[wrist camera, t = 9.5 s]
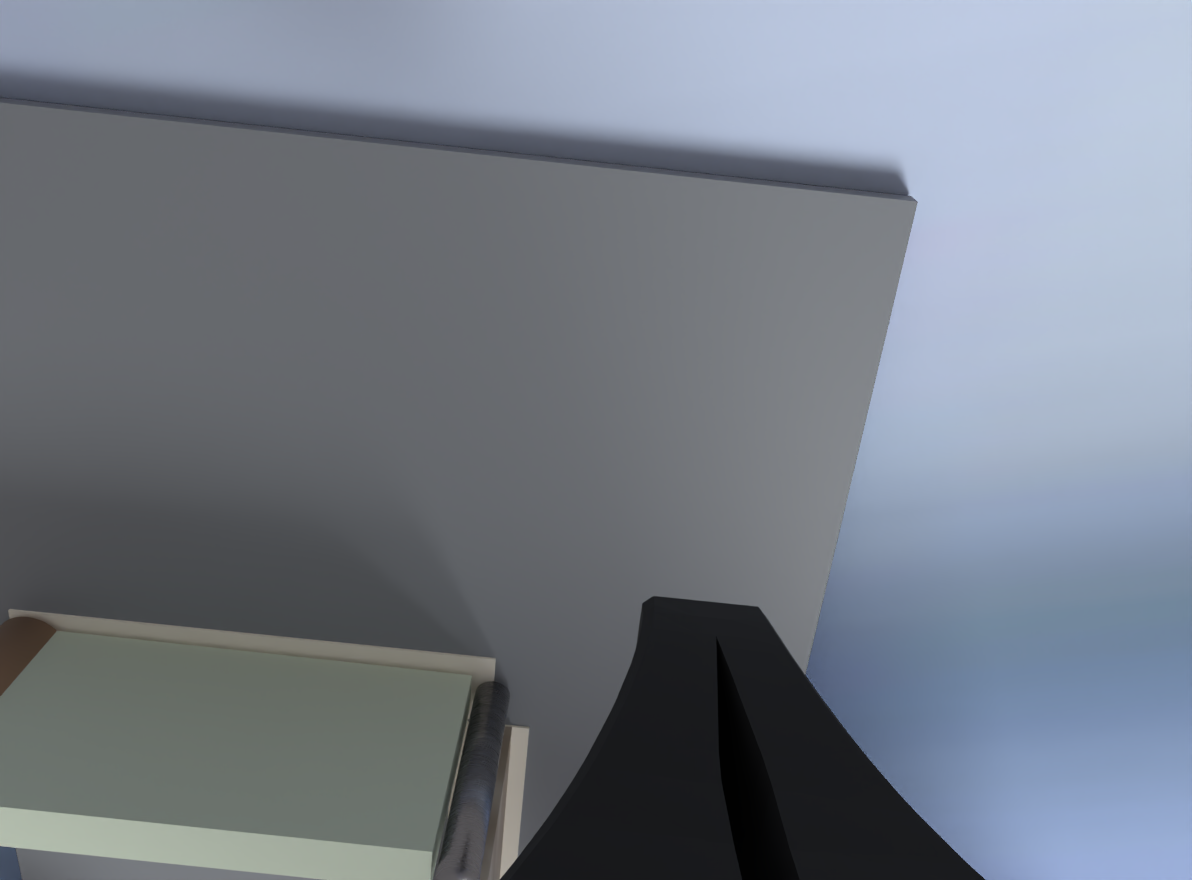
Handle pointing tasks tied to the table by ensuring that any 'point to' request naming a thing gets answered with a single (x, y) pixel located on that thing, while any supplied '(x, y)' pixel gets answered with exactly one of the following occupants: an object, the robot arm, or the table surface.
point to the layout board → (420, 407)
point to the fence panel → (242, 758)
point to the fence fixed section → (497, 815)
